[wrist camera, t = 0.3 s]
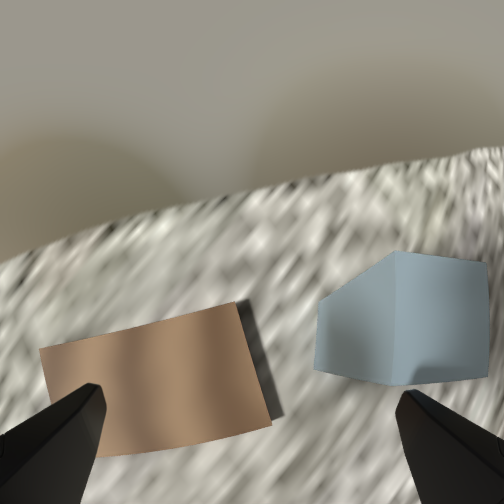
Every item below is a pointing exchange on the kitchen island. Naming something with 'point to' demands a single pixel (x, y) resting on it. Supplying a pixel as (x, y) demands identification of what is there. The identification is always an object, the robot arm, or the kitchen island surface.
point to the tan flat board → (165, 381)
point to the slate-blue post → (408, 322)
